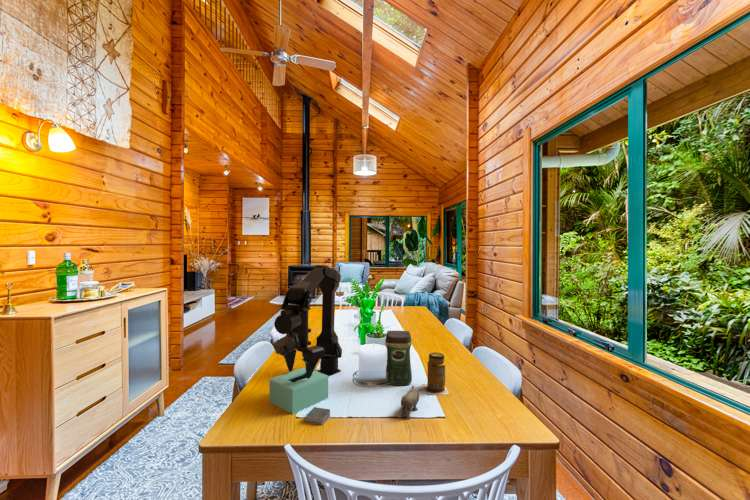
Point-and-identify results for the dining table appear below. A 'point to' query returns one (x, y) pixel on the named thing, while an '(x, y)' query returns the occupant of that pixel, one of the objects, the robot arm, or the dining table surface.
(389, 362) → the coffee jar
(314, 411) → the block
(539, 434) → the dining table surface
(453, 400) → the dining table surface
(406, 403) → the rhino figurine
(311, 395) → the teal box
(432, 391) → the condiment
